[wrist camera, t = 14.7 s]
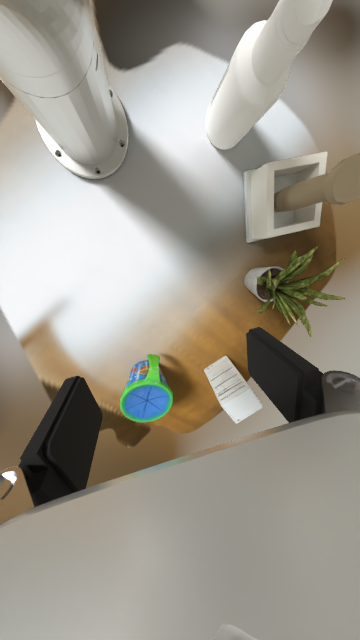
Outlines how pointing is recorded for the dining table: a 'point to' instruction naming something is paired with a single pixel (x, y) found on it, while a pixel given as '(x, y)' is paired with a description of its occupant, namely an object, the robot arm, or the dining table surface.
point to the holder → (270, 181)
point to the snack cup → (146, 392)
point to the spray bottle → (260, 69)
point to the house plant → (287, 286)
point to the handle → (323, 188)
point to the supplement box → (232, 390)
